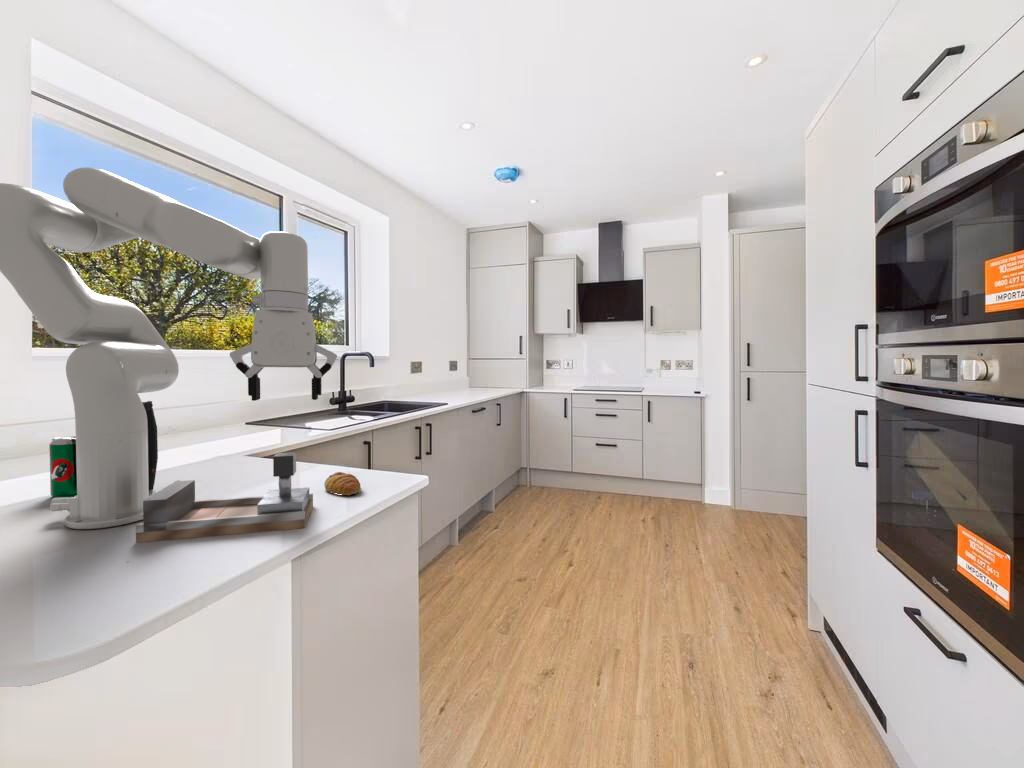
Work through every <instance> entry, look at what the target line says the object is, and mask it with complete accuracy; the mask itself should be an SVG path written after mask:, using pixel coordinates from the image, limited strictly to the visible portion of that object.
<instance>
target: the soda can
mask: <svg viewBox="0 0 1024 768" xmlns="http://www.w3.org/2000/svg"><path fill="white" fill-rule="evenodd" d="M48 445H49V449H48V450H49V482H50V484H49V487H50V492H49V493H50V496H52V498H60V497H68V498H71V497H73V496H76V495H77V463H76V435H75V436H74V435H73V436H63V437H62V436H60V437H55V438H52V439H51V442H50V443H49V444H48Z"/></svg>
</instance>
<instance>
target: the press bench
mask: <svg viewBox="0 0 1024 768" xmlns="http://www.w3.org/2000/svg"><path fill="white" fill-rule="evenodd" d="M264 496H265V495H263V496H261V495H258V496H246V497H245V496H243V497H242V496H241V497H231V498H229V497H228V498H216V499H215V498H212V499H211V498H210V499H197V500H196V480H195V479H194V480H193V479H191V480H189V479H188V480H175V481H174V482H172V483H170V484H169V485H167V486H164V487H163V488H162V489H160V490H159V491H157V492H155V493H153V494H152V495H150V496H149V498H147V499H145V500H144V501H143V519H142V520H143V523H142V522H141V523H137V524H135V543H145V542H153V541H154V542H156V541H167V540H178V539H180V540H182V539H192V538H202V537H203V538H204V537H211V536H212V537H213V536H214V537H215V536H225V535H226V536H227V535H236V534H237V535H238V534H247V533H261V532H272V531H273V532H275V531H283V530H293V529H294V530H296V529H304V528H306V525H307V522H308V519H309V518H310V515H311V513H312V510H313V507H314V492H309V502H308V504H307V506H306V508H305V510H304V511H298V512H285V513H272V514H259V515H257V505H258V503H259V502H260V501H261V500H262V498H263V497H264Z"/></svg>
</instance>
